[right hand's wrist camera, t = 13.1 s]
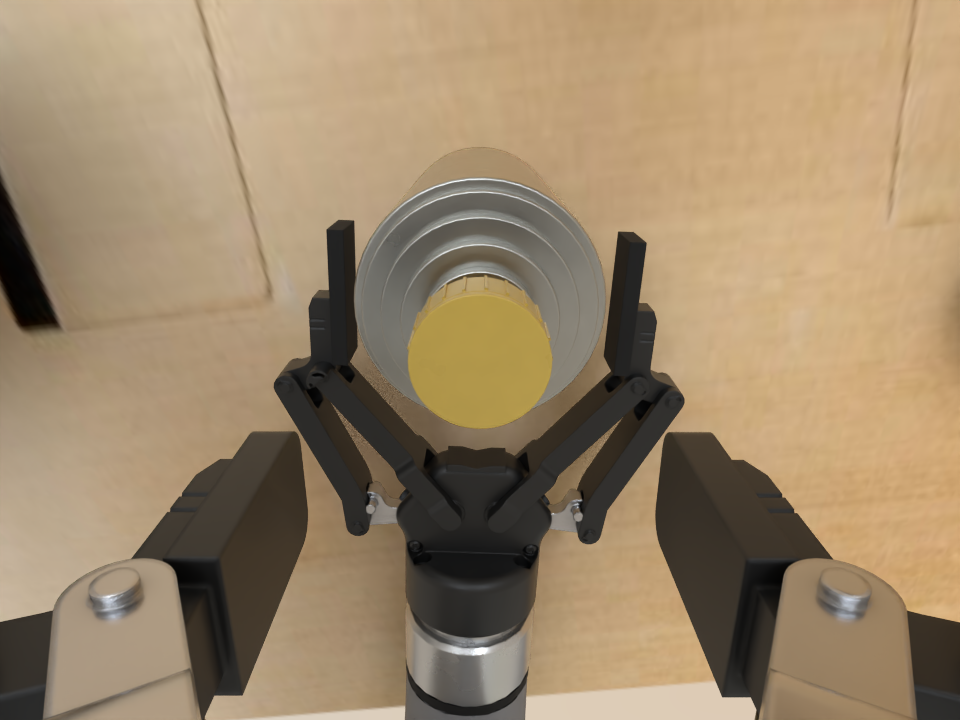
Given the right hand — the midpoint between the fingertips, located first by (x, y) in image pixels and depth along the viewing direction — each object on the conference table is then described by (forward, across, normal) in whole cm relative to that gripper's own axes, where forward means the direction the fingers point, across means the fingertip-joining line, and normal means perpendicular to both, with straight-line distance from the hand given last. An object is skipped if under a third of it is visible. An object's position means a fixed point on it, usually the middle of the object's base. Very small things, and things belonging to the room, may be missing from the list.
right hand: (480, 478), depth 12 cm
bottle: (+27, 0, 0) cm, 27 cm away
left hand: (+21, 0, -1) cm, 21 cm away
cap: (+6, 0, 0) cm, 6 cm away
